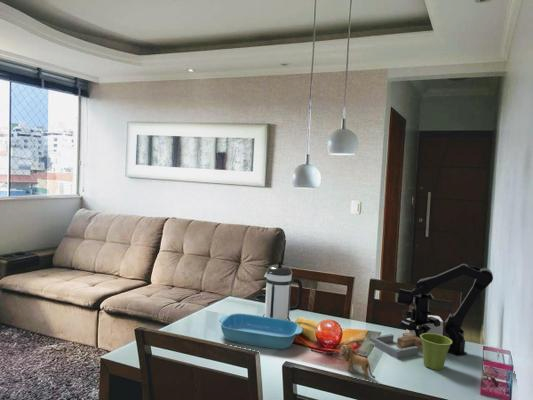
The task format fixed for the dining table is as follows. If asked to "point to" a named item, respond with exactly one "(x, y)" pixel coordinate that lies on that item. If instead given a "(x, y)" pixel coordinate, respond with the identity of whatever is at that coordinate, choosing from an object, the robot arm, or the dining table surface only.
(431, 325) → the supplement box
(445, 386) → the dining table surface
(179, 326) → the dining table surface
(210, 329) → the dining table surface
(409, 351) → the dock
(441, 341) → the plant pot
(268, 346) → the casserole dish
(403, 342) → the t block
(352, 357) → the lion figurine
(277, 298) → the coffee press
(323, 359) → the dining table surface
